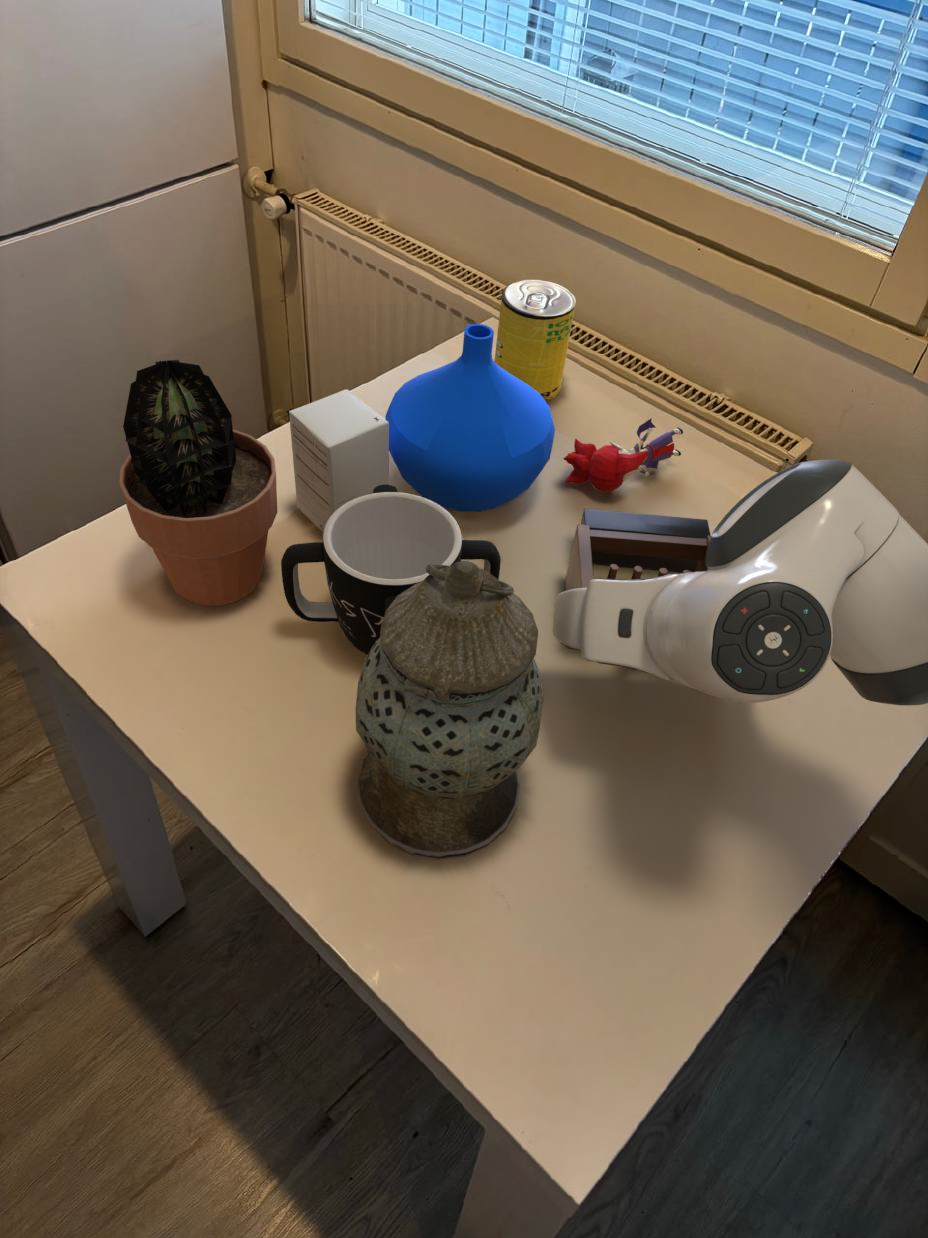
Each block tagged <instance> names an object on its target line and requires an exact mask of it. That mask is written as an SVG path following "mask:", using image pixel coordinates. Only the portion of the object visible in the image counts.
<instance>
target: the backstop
mask: <svg viewBox="0 0 928 1238" xmlns="http://www.w3.org/2000/svg"><path fill="white" fill-rule="evenodd" d="M579 525H587V526H589V529H590V530H601V531H613V532H625V533H637V534H650V535H662V536H674V537H686V538H698V539H707V537H708V536H711V535H712V534H711V530H710V526H709V521H708V519H702V518H692V517H681V516H670V515H660V514H659V515H658V514H647V513H637V512H625V511H614V510H604V509H603V510H602V509H592V508H584V509H583V511H582V516H581V521H580V524H579ZM591 553H592V565H601V566H610V565H611V564H616V565H617V566H618V567H624V568H634V567H636V566H640V567H641V568H642V569H645V570H646V569H647V570H658V571H659V570H660V569H661V568H665V569H667V571H669V572H680V573H683V572H684V571H685V570H689V571H691V572H695V570H696V567H697V564H698V562H699V560H689V559H677V558H665V557H653V556H641V555H628V554H616V553H604V552H592V551H591Z"/></svg>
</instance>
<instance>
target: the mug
mask: <svg viewBox="0 0 928 1238" xmlns="http://www.w3.org/2000/svg"><path fill="white" fill-rule="evenodd" d="M469 560H483V568H482V569H483V570H486V571H487V572H489V573H490V574H492V575H493V576H494V577H496V579H497V580H500V573H501V562H502V558H501V554H500V551H499V549H498V547H497V546H496V545H495V543H493V542H492V541H489V540H481V539H463V534H462V531H461V528H460V525H459V524H458V522H457V520H456V519H455V517H454V516H453V515H452V514H451V512H449V511H448V509H446V508H444V507H441V506H440V505H438V504H437V503H435V502H433V501H431V500H429V499H426V498H423V497H422V496H421V495H417V494H412V493H408V492H399V491H398V489H397V487H396V486H394V485H392V484H389V485H388V484H383V485H379V486H377V487H375V488H374V490H373V494H369V495H365V496H361V497H358V498H356V499H353V500H351V501H349V502H347V503H346V504H344V505H342V506H341V507H340V508H338V509H337V510H336V511H335V512H334V513H333V514H332V515H331V517H330V518H329V520H328V521H327V523H326V526H325V528H324V531H323V532H322V541H314V542H313V541H312V542H302V543H295V544H290V546H288V547H287V548H286V549H285V551H284V552H283V555H282V557H281V560H280V570H281V581H282V588H283V594H284V597H285V599H286V600H285V601H286V603H287V604H288V606H289V607H290V609H291V610H292V611H293V613H294V614H295V615H296V616H297V617H298V618H300V619H302V620H304V621H307V622H311V623H312V622H314V623H338V624H339V626H340V628H341V631H342V632H343V634H344V636H345V637H346V639H347V640H348V642H350V644H351V645H352V646H353V647H355V648H356V649H357V650H358V651H360V652H361V653H363V654H365V655H366V656H367V655H368V653H369V652H370V650H371V648H372V647H373V645H374V643H375V642H376V641H377V640H378V639H379V638H380V631H381V626H382V622H383V619H384V615H385V612H386V610H387V609H388V607H389V606H390V605H391V603H392V602H393V601H394V600H395V598H396V597H397V596H398V595H399V594H401V593H402V592H404V591H406V590H407V589H409V588H410V587H412V586H413V585H415V584H417V583H420V582H423V580H424V579H425V578H426V577H427V576H428V575H429V574H428V573H427V571H426V566H427V565H428V564H441V565H447V566H452V565H454V564H455V563H456V562H459V561H469ZM310 563H311V564H312V563H313V564H315V563H323V564H324V568H325V576H326V583H327V587H328V590H329V594H330V598H331V601H313V600H308V599H307V598H306V597H305V596H304V594H303V593H302V590H301V584H300V578H299V564H310Z"/></svg>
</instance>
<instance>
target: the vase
mask: <svg viewBox="0 0 928 1238" xmlns="http://www.w3.org/2000/svg"><path fill="white" fill-rule="evenodd" d="M494 336H495V331H494V330H493V328H492V327H490V326H489V325H486V324H484V323H483V324H482V323H473V324H468V325H467V326H465V328H464V331H463V341H462V342H463V343H462V352H461V355H460V356H459V357H458V358H456V360H453V361H452V362H449V363H447V364H445V365H442V366H440V367H437V368H435V369H432V370H429V371H426V372H423V373H420V374H418V375H416V376H414V377H413V378H411V379H410V380H407V381H406V382H405V383H403V384H402V385H401V386H400V387H399V388H398V390H396V392H395V393H394V395H393V397H392V399H391V401H390V403H389V406H388V408H387V411H386V413H385V416H384V417H385V418H384V419H385V420H386V421H388V422H389V455H391V458H392V460H393V462H394V464H395V466H396V468H397V470H398V472H399V474H400V476H401V478H402V479H403V480H404V481H405V482H406V483H407V485H409V486H410V487H411V488H412V489H413V490H414V491H415V492H416V493H417V494H418V496H420V497H423V498H426V499H429V500H431V501H433V502H435V503H437V504H438V505H440V506H441V507H443V508H444V509H445V510H450V511H455V512H462V513H470V512H471V513H474V512H475V513H477V512H485V511H489V510H490V511H491V510H494V509H497V508H500V507H503V506H504V505H507V504H508V503H510V502H511V501H513V500H515V499H517V498H518V497H520V496H521V495H522V494H523V493H525V492H526V491H527V490H528V489H530V487H531V486H532V485H533V483H534V482H535V480H536V479H537V478H538V477H539V475H540V474H541V472H542V471H543V470H544V468H545V467H546V465H547V464H548V463H549V461H550V460H551V456H552V455H551V454H552V450H553V445H554V439H555V433H556V427H555V423H554V419H553V415H552V412H551V408H550V406H549V404H548V403H547V401H545V400H544V399H543V397H542V396H541V395H540V394H539V393H538V392H537V391H535V390H534V389H533V388H532V387H530V386H529V385H528V384H526V383H524V382H523V381H521V380H519V379H518V378H516V377H514V376H513V375H511V374H510V373H508V372H507V371H505V370H504V369H502V368H501V367H500V366H498V365H497V364H496V363H495V362H494V361H495V359H493V347H494V346H493V345H494Z"/></svg>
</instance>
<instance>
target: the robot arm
mask: <svg viewBox="0 0 928 1238" xmlns="http://www.w3.org/2000/svg"><path fill="white" fill-rule="evenodd" d="M710 535H711V539H710V542H709V545H708V549H707V553H706V566H707V567H708V569H707V571H702V572H689V573H683V572H680V573H671V574H669V573H668V574H667V575H664V576H660V577H657V576H656V577H652V578H640V579H631V578H629V579H627V578H626V579H624V578H622V579H621V578H616V579H607V578H604V580H602V579H603V578H594V579H593V580H590V581H589V582H588V586H587V587H586V588H576V589H571V590H568V591H565V590H564V591H562V592H560V593H558V594H557V595H556V597H555V601H554V607H553V616H552V617H553V618H552V634H553V637H554V638H555V639H556V640H558V641H559V642H560V643H562V644H564V645H565V646H567V647H568V646H569V647H572V648H571V649H574V650H578V651H581V658H582V659H583V660H585V661H587V662H593V663H598V664H601V665H608V666H615V667H621V668H626V669H630V670H635V671H637V670H639V671H643V672H646V673H648V674H650V675H652V676H654V677H657V678H658V679H659V678H660V679H661V680H664V681H672V682H674V683H677V684H680V685H681V686H684V687H688V688H689V689H690V688H691V689H694V690H697V691H699V692H702V693H704V694H706V695H709V696H712V697H714V698H718V699H722V700H725V701H726V700H727V701H730V702H735V703H741V704H742V703H743V704H752V703H753V704H755V703H766V702H771V701H775V700H778V699H782V698H785V697H787V696H791V695H793V694H795V693H797V692H799V691H801V690H802V689H804V688H805V687H807V686H808V685H810V684H811V683H812V682H813V681H815V679H816V678H817V677H818V676H819V675H820V674H821V672H822V671H823V670H824V668H825V666H826V665H827V663H828V660H829V658H830V659H831V661H832V663H833V664H834V665H835V666H836V668H837V669H838V670H839V671H840V673H841V674H842V675H843V676H844V677H845V679H846V680H847V681H848V683H849V685H851V686H852V687H853V689H854V690H855V691H856V692H857V694H858V695H859V697H861V698H862V699H864V700H866V701H869V702H873V703H878V704H885V705H891V706H892V705H894V706H922V705H926V704H928V543H927V541H926V540H925V539H924V538H922V536H921V535H920V534H919V533H918V532H917V531H916V530H915V529H914V528H913V526H912V525H910V524H909V522H907V521H906V519H904V518H903V516H902V515H900V512H899V510H898V509H897V508H896V507H895V506H894V505H893V504H892V503H891V502H890V501H889V500H888V499H887V498H886V496H884V494H883V493H881V491H880V490H879V489H878V488H877V487H875V485H874V484H873V483H872V482H871V481H870V480H869V479H868V478H867V477H866V476H865V475H863V473H862V472H861V471H859V469H857V468H856V467H855V466H854V465H853V464H852V462H851V461H847V460H843V459H833V458H832V459H831V458H830V459H829V458H828V459H827V458H826V459H825V458H824V459H815V460H807V461H801V462H798V463H795V464H793V465H791V466H789V467H786V468H785V469H783V470H781V471H779V472H777V473H775V474H774V475H771V476H770V477H768V478H767V479H765V480H764V481H762V482H761V483H759V484H758V485H756V486H755V487H754V488H753V489H752V490H750V491H748V493H747V494H746V495H744V496H743V497H742V498H741V499H740V500H738V502H736V504H735V505H733V506H732V508H731V509H730V510H729V511H728V512H727V513H726V514H725V515H724V516H723V518H722V519H721V520H720V521H719V522H718V524H717V525H716V526H715V528H714V530H713V531H712V533H711V534H710Z"/></svg>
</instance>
